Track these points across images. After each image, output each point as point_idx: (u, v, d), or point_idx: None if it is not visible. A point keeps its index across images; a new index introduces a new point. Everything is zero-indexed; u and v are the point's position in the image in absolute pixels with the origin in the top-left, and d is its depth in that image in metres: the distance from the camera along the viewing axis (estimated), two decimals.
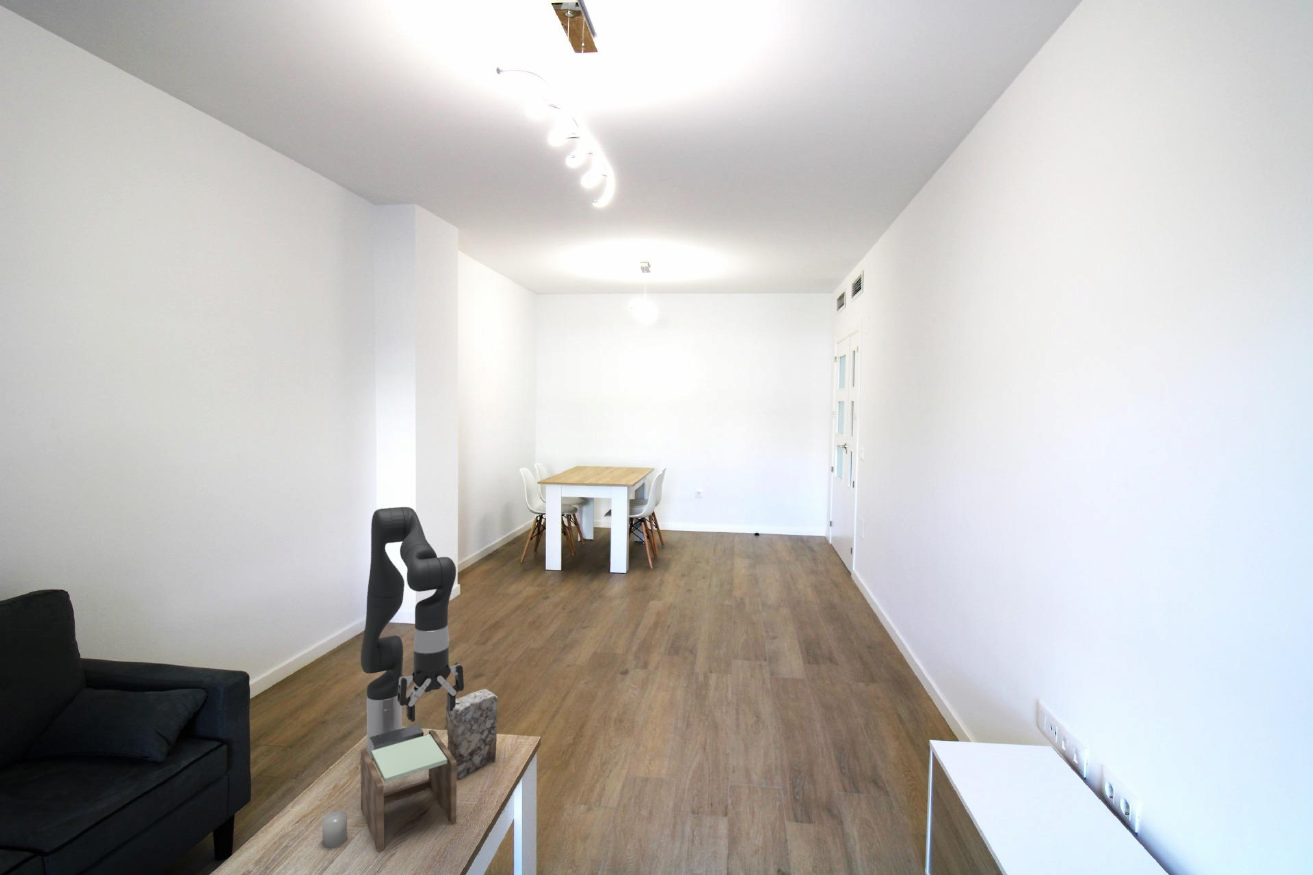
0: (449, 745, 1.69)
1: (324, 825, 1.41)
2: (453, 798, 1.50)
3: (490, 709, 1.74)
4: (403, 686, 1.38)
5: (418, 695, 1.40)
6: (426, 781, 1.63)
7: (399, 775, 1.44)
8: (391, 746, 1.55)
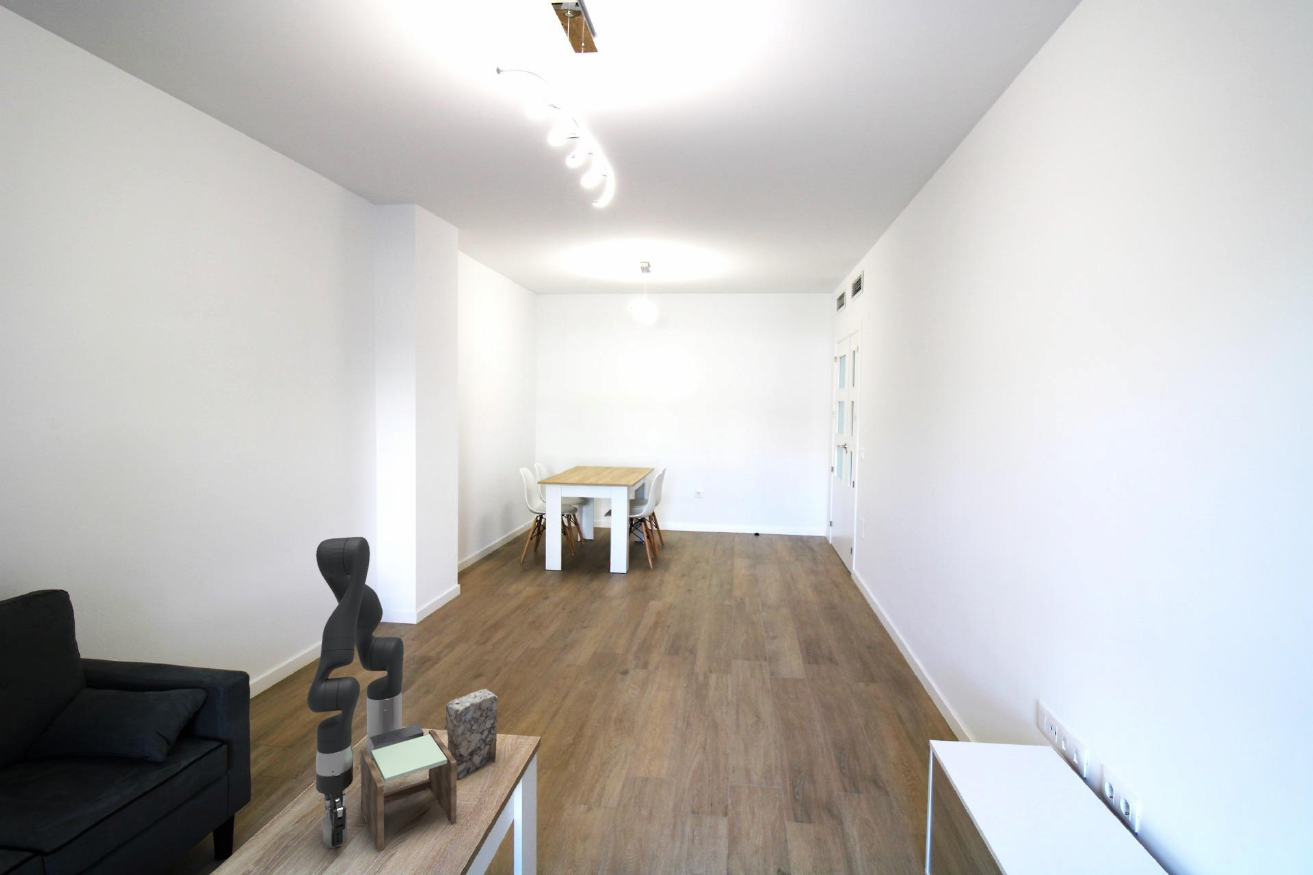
0: (449, 745, 1.69)
1: (324, 825, 1.41)
2: (453, 798, 1.50)
3: (490, 709, 1.74)
4: None
5: None
6: (426, 781, 1.63)
7: (399, 775, 1.44)
8: (391, 746, 1.55)
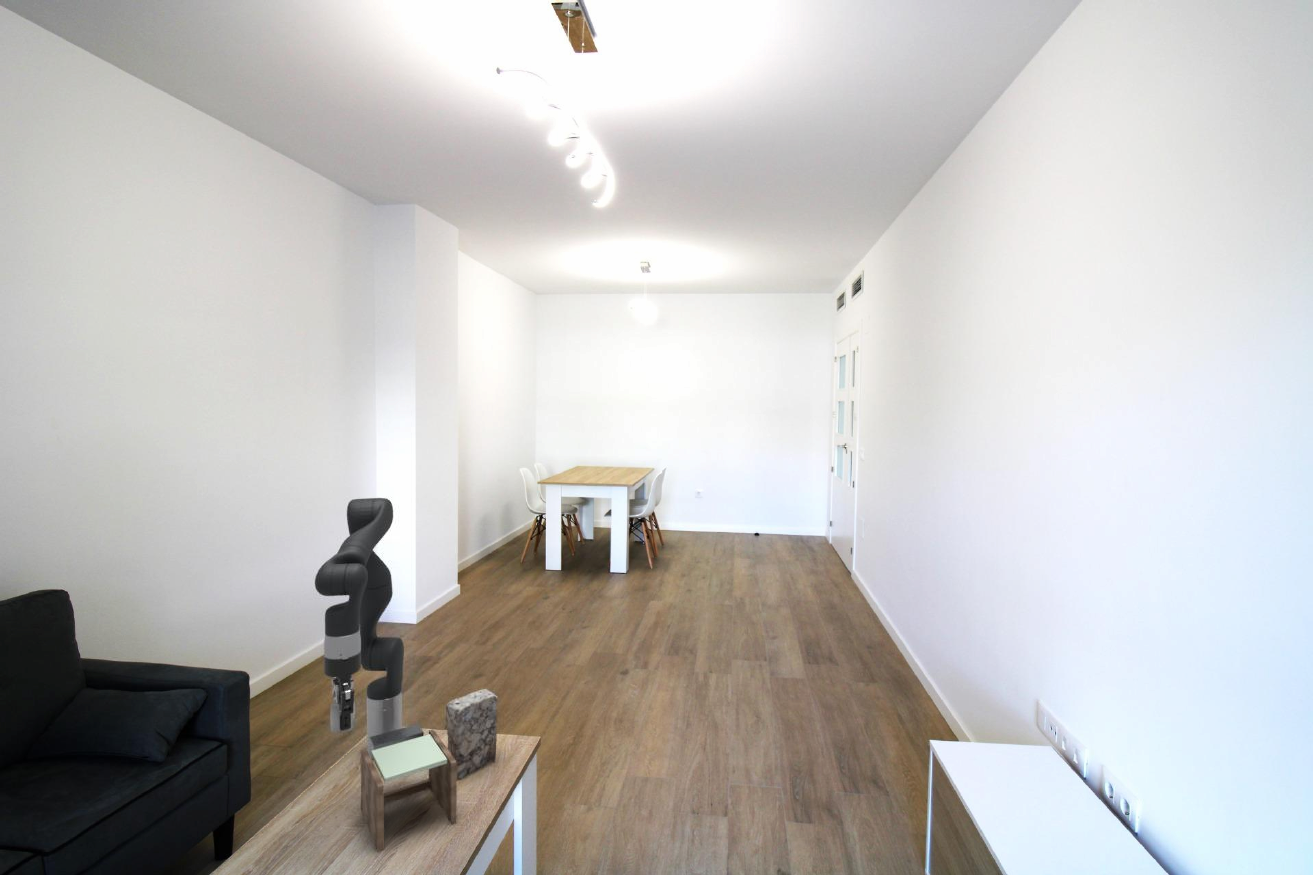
0: (449, 745, 1.69)
1: (332, 710, 1.41)
2: (453, 798, 1.50)
3: (490, 709, 1.74)
4: None
5: None
6: (426, 781, 1.63)
7: (399, 775, 1.44)
8: (391, 746, 1.55)
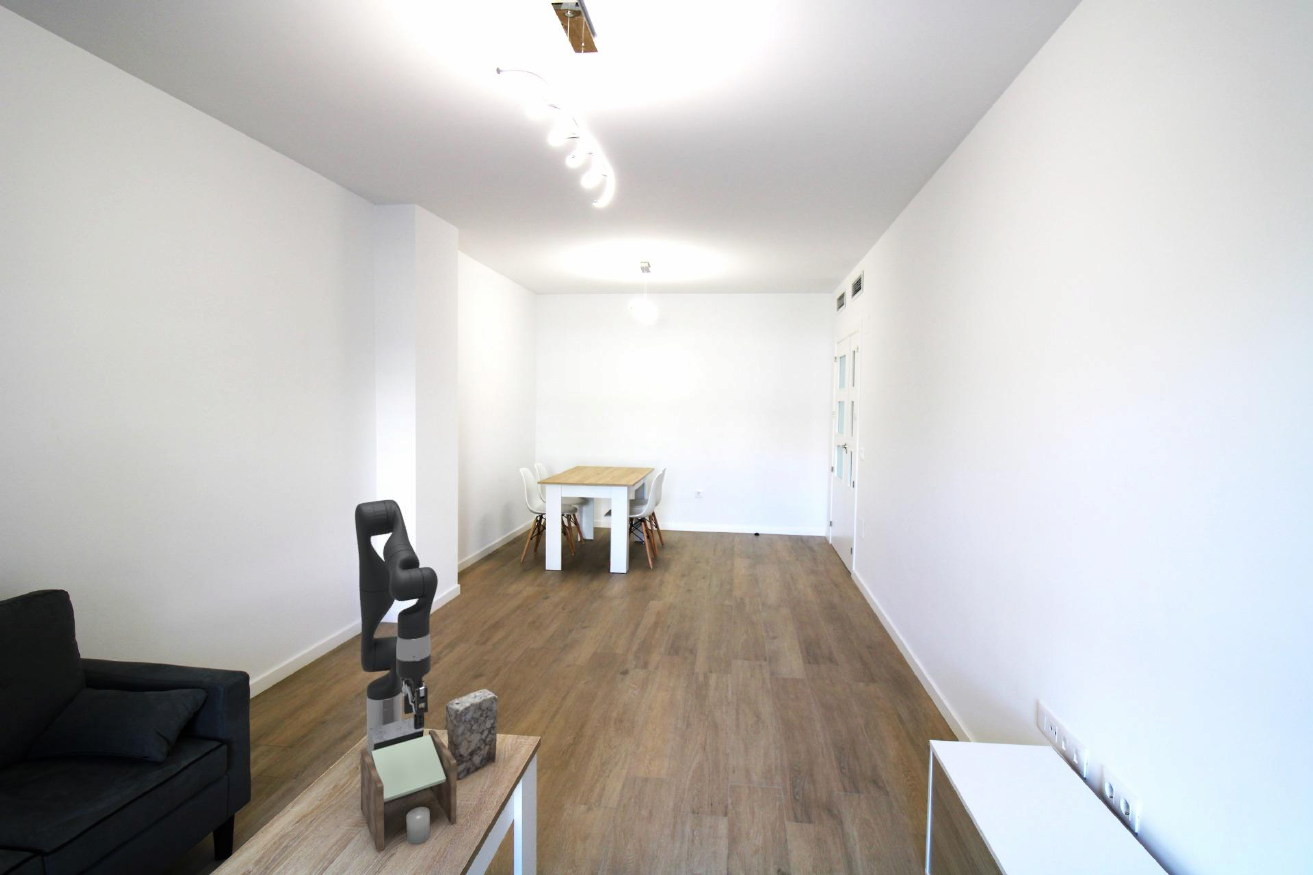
0: (449, 745, 1.69)
1: None
2: (453, 798, 1.50)
3: (490, 709, 1.74)
4: None
5: None
6: None
7: (398, 795, 1.45)
8: (391, 747, 1.55)
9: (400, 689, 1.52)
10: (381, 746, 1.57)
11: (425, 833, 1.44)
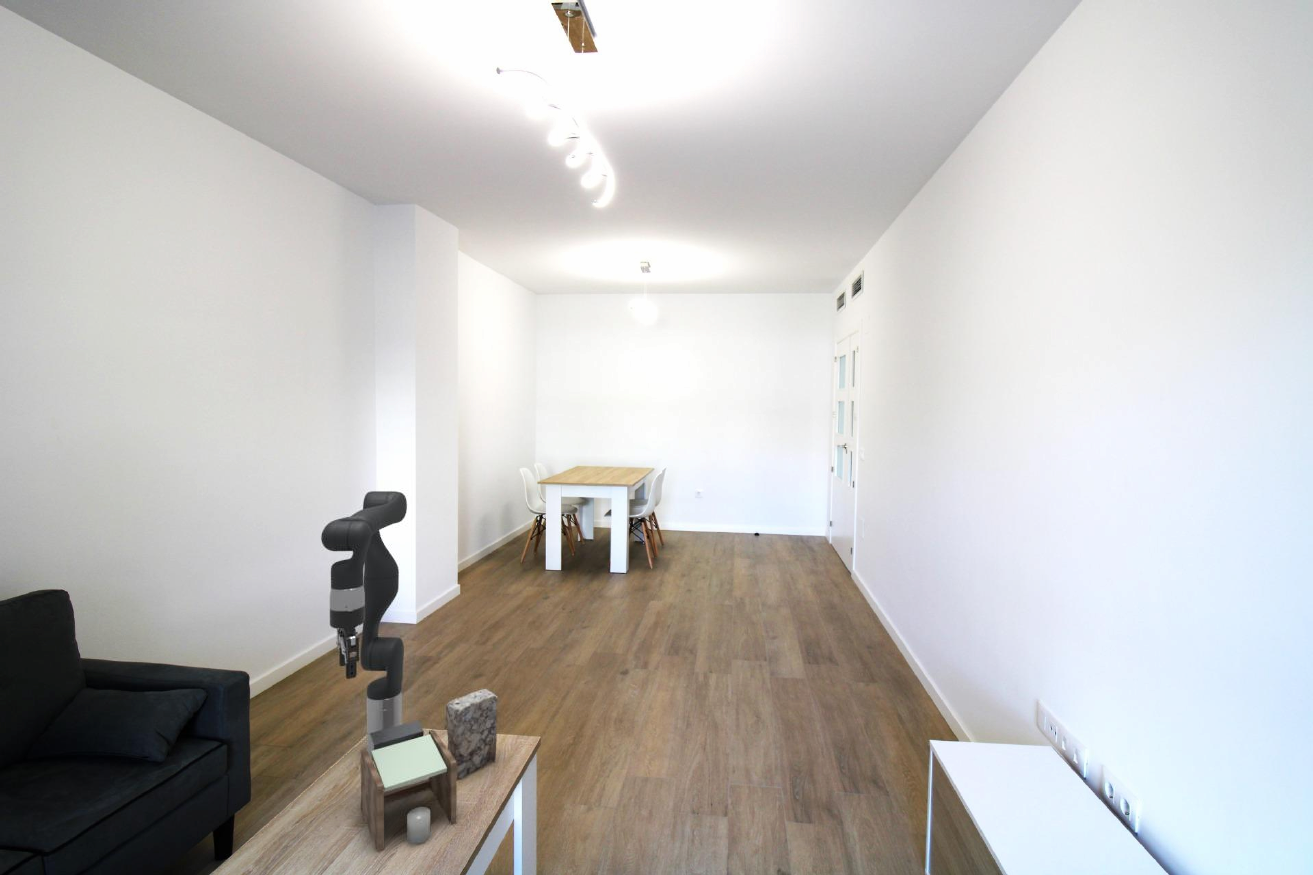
0: (449, 745, 1.69)
1: None
2: (453, 798, 1.50)
3: (490, 709, 1.74)
4: None
5: None
6: (426, 781, 1.63)
7: (399, 784, 1.44)
8: (391, 747, 1.55)
9: (336, 642, 1.54)
10: None
11: (424, 834, 1.43)
